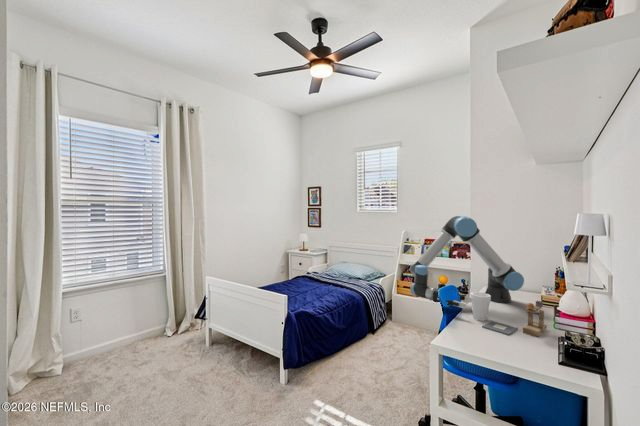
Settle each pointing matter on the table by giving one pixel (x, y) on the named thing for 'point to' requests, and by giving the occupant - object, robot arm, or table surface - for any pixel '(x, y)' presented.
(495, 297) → the robot arm
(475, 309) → the foam cup
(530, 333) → the catapult
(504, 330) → the mat
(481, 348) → the table surface
